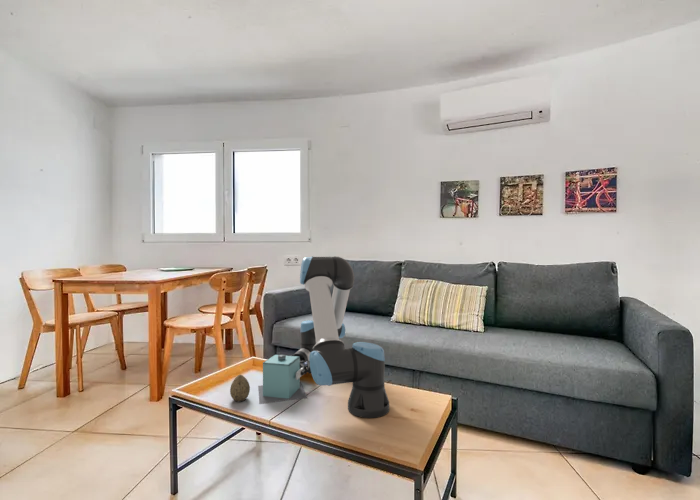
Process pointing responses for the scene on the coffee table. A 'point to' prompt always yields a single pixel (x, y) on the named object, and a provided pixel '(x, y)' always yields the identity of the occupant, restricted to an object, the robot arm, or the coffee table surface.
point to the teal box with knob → (281, 376)
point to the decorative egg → (240, 388)
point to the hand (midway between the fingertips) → (280, 374)
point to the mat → (265, 399)
